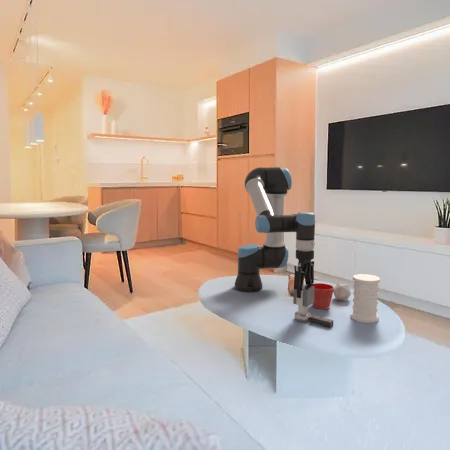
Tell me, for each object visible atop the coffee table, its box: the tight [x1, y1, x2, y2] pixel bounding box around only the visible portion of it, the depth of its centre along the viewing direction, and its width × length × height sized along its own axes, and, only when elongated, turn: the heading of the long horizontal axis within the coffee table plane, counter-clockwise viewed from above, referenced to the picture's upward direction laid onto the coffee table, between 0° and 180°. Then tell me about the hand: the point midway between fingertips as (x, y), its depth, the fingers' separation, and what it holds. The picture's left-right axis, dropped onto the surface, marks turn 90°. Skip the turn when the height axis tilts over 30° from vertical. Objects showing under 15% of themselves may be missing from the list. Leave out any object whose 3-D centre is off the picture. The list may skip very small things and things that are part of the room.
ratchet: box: [294, 305, 334, 329], centre depth 162 cm, size 16×7×6 cm, turn 51°
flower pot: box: [311, 282, 335, 310], centre depth 181 cm, size 11×11×10 cm
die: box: [333, 282, 352, 302], centre depth 190 cm, size 8×9×10 cm
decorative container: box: [349, 273, 381, 324], centre depth 166 cm, size 12×12×18 cm
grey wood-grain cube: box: [292, 284, 314, 308], centre depth 164 cm, size 6×6×7 cm
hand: (303, 302), depth 165 cm, fingers closed on grey wood-grain cube, 6 cm apart
